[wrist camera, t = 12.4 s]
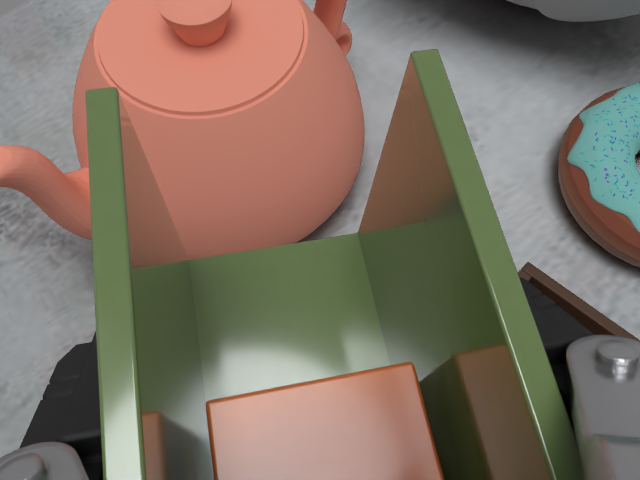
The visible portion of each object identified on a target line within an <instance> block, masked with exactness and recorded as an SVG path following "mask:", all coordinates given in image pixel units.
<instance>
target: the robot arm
mask: <svg viewBox="0 0 640 480" xmlns="http://www.w3.org/2000/svg"><path fill="white" fill-rule="evenodd" d="M519 279H520V282H521V284H522V287H523V290H524V293H525V296H526V298H527V301H528V304H529V307H530V310H531V312H532V315H533V318H534V321H535V324H536V326H537V329H538V332H539V335H540V338H541V340H542V343H543V346H544V349H545V352H546V354H547V357H548V360H549V363H550V366H551V368H552V371H553V374H554V377H555V380H556V382H557V385H558V388H559V391H560V394H561V396H562V399H563V402H564V405H565V408H566V410H567V413H568V416H569V419H570V422H571V424H572V427H573V430H574V433H575V436H576V440H577V445H578V449H579V454H580V459H581V463H582V468H583V475H584V480H640V342H639V341H636V340H633V339H629V338H626V337H620V336H614V335H594V334H593V333H592V332H590V331H589V330H588V329H587V328H585V327H584V326H583V325H582V324H580V323H579V322H578V321H577V320H576V319H574V318H573V317H572V316H571V315H569V314H568V313H567V312H566V311H565V310H563V309H562V308H561V307H560V306H558V305H557V306H556V305H555V302H553V301H552V300H551V299H550V298H549V297H547V296H546V295H543V294H542V292H541V291H540V290H539V289H538V288H536V287H535V286H534V285H533V284H531V283H530V282H529V281H528V280H526V279H523V278H521V277H519ZM0 480H103V473H102V450H101V428H100V406H99V384H98V362H97V340H96V332H95V335H94V337H93V340H92V342H90V343H84V344H79V345H76V346H75V347H74V348H72V349H71V350H70V351H69V352H68V353H67V354H66V355H65V356H64V357H63V358H62V359H61V360H60V361H59V362H58V363H57V365H56V367H55V370H54V372H53V374H52V376H51V378H50V384H48V385H47V387H46V390H45V392H44V394H43V400H41V401H40V403H39V405H38V408H37V410H36V412H35V414H34V417H33V419H32V421H31V423H30V426H29V428H28V430H27V432H26V435H25V437H24V439H23V441H22V444H21V446H20V448H19V449H18V450H15V451H13V452H11V453H9V454H7V455H5V456H3V457H2V458H0Z"/></svg>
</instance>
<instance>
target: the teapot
mask: <svg viewBox="0 0 640 480" xmlns="http://www.w3.org/2000/svg"><path fill="white" fill-rule="evenodd" d="M346 1H347V0H316V3H315V8H314V12H313V11H312V10H311V9H310V8H309V7H308V6H307V5H306V4H305V3H304V2H303V1H302V0H111V1H110V2H109V3H108V4H107V6H106V8H105V9H104V11H103V12H102V14H101V16H100V18H99V19H98V21H97V23H96V25H95V27H94V29H93V31H92V34H91V36H90V38H89V41H88V44H87V47H86V49H85V52H84V55H83V58H82V61H81V64H80V68H79V72H78V76H77V80H76V85H75V90H74V98H73V133H74V139H75V145H76V149H77V154H78V158H79V162H80V165H81V168H82V169H79V170H76V171H73V172H69V173H65V174H63V173H62V172H61V171H60V170H59V169H58V168H57V167H56V166H55V165H54V164H53V163H52V162H51V161H50V160H49V159H48V158H46V157H45V156H44V155H42V154H41V153H39V152H37V151H35V150H33V149H31V148H28V147H23V146H15V145H1V146H0V186H1V187H8V188H13V189H15V190H17V191H20V192H22V193H24V194H25V195H26V196H28V197H29V198H30V199H31V200H32V201H33V202H34V203H36V204H37V205H38V206H39V207H40V208H41V209H42V210H43V211H44V212H45V213H46V214H47V215H48V216H49V217H50V218H51V219H53V220H54V221H55V222H56V223H58V224H59V225H60V226H62V227H63V228H65V229H66V230H68V231H70V232H72V233H74V234H76V235H78V236H80V237H83V238H88V239H92V229H91V207H90V185H89V163H88V141H87V119H86V97H85V94H86V91H87V90H91V89H99V88H108V87H116V88H117V89H118V91H119V93H120V96H121V98H122V101H123V103H124V105H125V108H126V110H127V113H128V115H129V117H130V120H131V122H132V125H133V127H134V129H135V132H136V134H137V137H138V139H139V141H140V144H141V146H142V149H143V151H144V153H145V156H146V158H147V161H148V163H149V165H150V168H151V170H152V173H153V175H154V177H155V180H156V182H157V185H158V187H159V189H160V192H161V194H162V197H163V199H164V201H165V204H166V206H167V209H168V211H169V213H170V216H171V218H172V220H173V223H174V225H175V228H176V230H177V232H178V235H179V237H180V240H181V242H182V244H183V247H184V249H185V252H186V254H187V256H188V259H189V260H192V259H198V258H204V257H211V256H217V255H223V254H230V253H236V252H242V251H248V250H255V249H261V248H267V247H273V246H280V245H286V244H292V243H297V242H298V241H300V240H301V239H303V238H304V237H306V236H307V235H309V234H310V233H312V232H313V231H314V230H315V229H316V228H318V227H319V226H320V225H321V224H322V223H324V222H325V221H326V220H327V219H328V218H329V217H330V216H331V215H332V214H333V212H334V211H335V210H336V209H337V208H338V207H339V206H340V204H341V203H342V201H343V200H344V199H345V197H346V196H347V194H348V193H349V191H350V189H351V187H352V185H353V183H354V181H355V179H356V177H357V174H358V170H359V167H360V164H361V160H362V153H363V146H364V118H363V111H362V105H361V99H360V94H359V91H358V87H357V84H356V81H355V78H354V75H353V72H352V69H351V67H350V65H349V63H348V61H347V59H346V57H345V56H346V55H347V53H348V52H349V50H350V48H351V45H352V34H351V32H350V29H349V28H348V26H347V25H346V24H345V23H344V22H343V21H342V17H343V13H344V10H345V6H346Z"/></svg>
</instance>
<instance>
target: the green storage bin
mask: <svg viewBox="0 0 640 480" xmlns="http://www.w3.org/2000/svg"><path fill="white" fill-rule="evenodd" d="M85 97H86V119H87V141H88V163H89V185H90V207H91V229H92V252H93V274H94V296H95V318H96V340H97V362H98V384H99V406H100V428H101V450H102V473H103V480H214V475H213V466H212V458H211V449H210V441H209V432H208V423H207V415H206V402H208V401H209V400H214V399H219V398H224V397H229V396H235V395H240V394H245V393H250V392H255V391H260V390H266V389H271V388H276V387H281V386H286V385H292V384H297V383H302V382H307V381H312V380H317V379H323V378H328V377H333V376H338V375H343V374H349V373H354V372H359V371H364V370H369V369H374V368H380V367H385V366H390V365H395V364H400V363H405V362H412V363H413V364H414V366H415V370H416V373H417V377H418V381H419V385H420V389H421V392H422V396H423V400H424V404H425V408H426V411H427V415H428V419H429V423H430V427H431V430H432V434H433V438H434V442H435V446H436V449H437V453H438V457H439V461H440V465H441V468H442V472H443V476H444V480H584V475H583V468H582V463H581V459H580V454H579V449H578V445H577V440H576V436H575V433H574V430H573V427H572V424H571V422H570V419H569V416H568V413H567V410H566V408H565V405H564V402H563V399H562V396H561V394H560V391H559V388H558V385H557V382H556V380H555V377H554V374H553V371H552V368H551V366H550V363H549V360H548V357H547V354H546V352H545V349H544V346H543V343H542V340H541V338H540V335H539V332H538V329H537V326H536V324H535V321H534V318H533V315H532V312H531V310H530V307H529V304H528V301H527V298H526V296H525V293H524V290H523V287H522V284H521V282H520V279H519V276H518V273H517V270H516V267H515V265H514V262H513V259H512V256H511V253H510V251H509V248H508V245H507V242H506V239H505V237H504V234H503V231H502V228H501V225H500V223H499V220H498V217H497V214H496V211H495V209H494V206H493V203H492V200H491V197H490V195H489V192H488V189H487V186H486V183H485V181H484V178H483V175H482V172H481V169H480V167H479V164H478V161H477V158H476V155H475V153H474V150H473V147H472V144H471V141H470V139H469V136H468V133H467V130H466V127H465V125H464V122H463V119H462V116H461V113H460V111H459V108H458V105H457V102H456V99H455V96H454V94H453V91H452V88H451V85H450V82H449V80H448V77H447V74H446V71H445V68H444V66H443V63H442V60H441V57H440V54H439V52H438V50H437V49H431V50H423V51H414V52H412V53H411V54H410V58H409V61H408V65H407V68H406V72H405V75H404V78H403V82H402V85H401V89H400V92H399V95H398V99H397V102H396V106H395V109H394V112H393V116H392V119H391V123H390V126H389V129H388V133H387V136H386V140H385V143H384V146H383V150H382V153H381V157H380V160H379V164H378V167H377V170H376V174H375V177H374V181H373V184H372V187H371V191H370V194H369V198H368V201H367V204H366V208H365V211H364V215H363V218H362V221H361V225H360V228H359V232H358V233H355V234H349V235H342V236H336V237H330V238H323V239H317V240H311V241H305V242H298V243H292V244H286V245H280V246H273V247H267V248H261V249H255V250H248V251H242V252H236V253H230V254H223V255H217V256H211V257H204V258H198V259H192V260H189V259H188V256H187V254H186V252H185V249H184V247H183V244H182V242H181V240H180V237H179V235H178V232H177V230H176V228H175V225H174V223H173V220H172V218H171V216H170V213H169V211H168V209H167V206H166V204H165V201H164V199H163V197H162V194H161V192H160V189H159V187H158V185H157V182H156V180H155V177H154V175H153V173H152V170H151V168H150V165H149V163H148V161H147V158H146V156H145V153H144V151H143V149H142V146H141V144H140V141H139V139H138V137H137V134H136V132H135V129H134V127H133V125H132V122H131V120H130V117H129V115H128V113H127V110H126V108H125V105H124V103H123V101H122V98H121V96H120V93H119V91H118V89H117V88H116V87H108V88H99V89H91V90H87V91H86V94H85Z"/></svg>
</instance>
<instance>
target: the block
mask: <svg viewBox="0 0 640 480" xmlns="http://www.w3.org/2000/svg"><path fill="white" fill-rule="evenodd" d="M206 415H207V423H208V432H209V441H210V449H211V458H212V466H213V475H214V480H444V476H443V472H442V468H441V465H440V461H439V457H438V453H437V449H436V446H435V442H434V438H433V434H432V430H431V427H430V423H429V419H428V415H427V411H426V408H425V404H424V400H423V396H422V392H421V389H420V385H419V381H418V377H417V373H416V370H415V366H414V364H413V363H412V362H405V363H400V364H395V365H390V366H385V367H380V368H374V369H369V370H364V371H359V372H354V373H349V374H343V375H338V376H333V377H328V378H323V379H317V380H312V381H307V382H302V383H297V384H292V385H286V386H281V387H276V388H271V389H266V390H260V391H255V392H250V393H245V394H240V395H235V396H229V397H224V398H219V399H214V400H209V401H208V402H206Z"/></svg>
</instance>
